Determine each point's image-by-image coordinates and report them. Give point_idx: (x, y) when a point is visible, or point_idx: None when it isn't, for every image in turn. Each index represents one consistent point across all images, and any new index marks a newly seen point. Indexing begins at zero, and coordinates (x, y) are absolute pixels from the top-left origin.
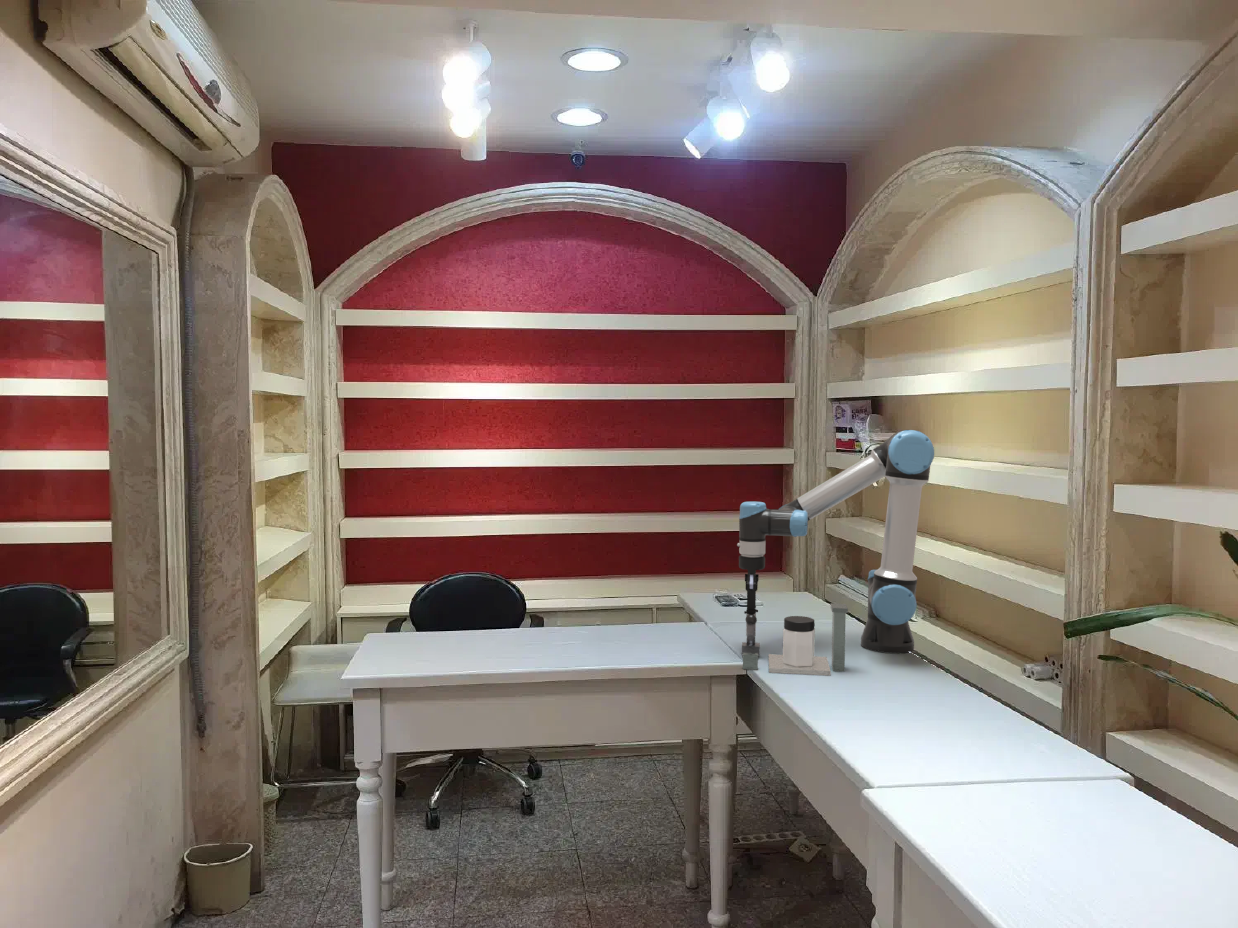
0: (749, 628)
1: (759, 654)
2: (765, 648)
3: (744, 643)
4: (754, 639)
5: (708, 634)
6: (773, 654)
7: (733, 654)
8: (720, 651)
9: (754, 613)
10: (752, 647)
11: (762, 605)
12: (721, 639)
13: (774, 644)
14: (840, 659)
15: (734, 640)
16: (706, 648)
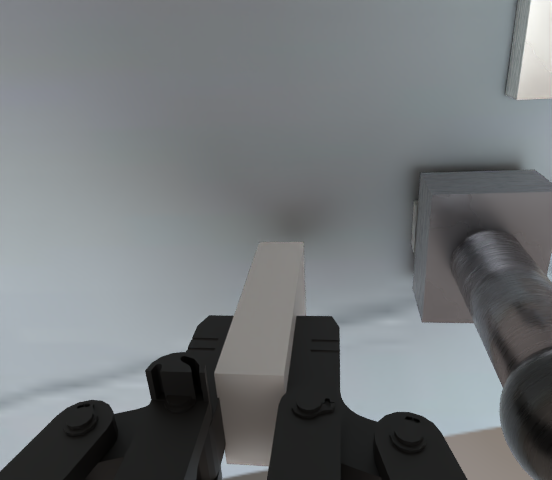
0: None
1: (535, 171)
2: (219, 128)
3: (460, 306)
4: (530, 257)
5: (27, 434)
6: (524, 57)
7: (418, 321)
8: (360, 384)
9: (336, 404)
10: (547, 244)
11: None
12: (98, 380)
13: (84, 64)
14: None
15: (90, 319)
16: None
